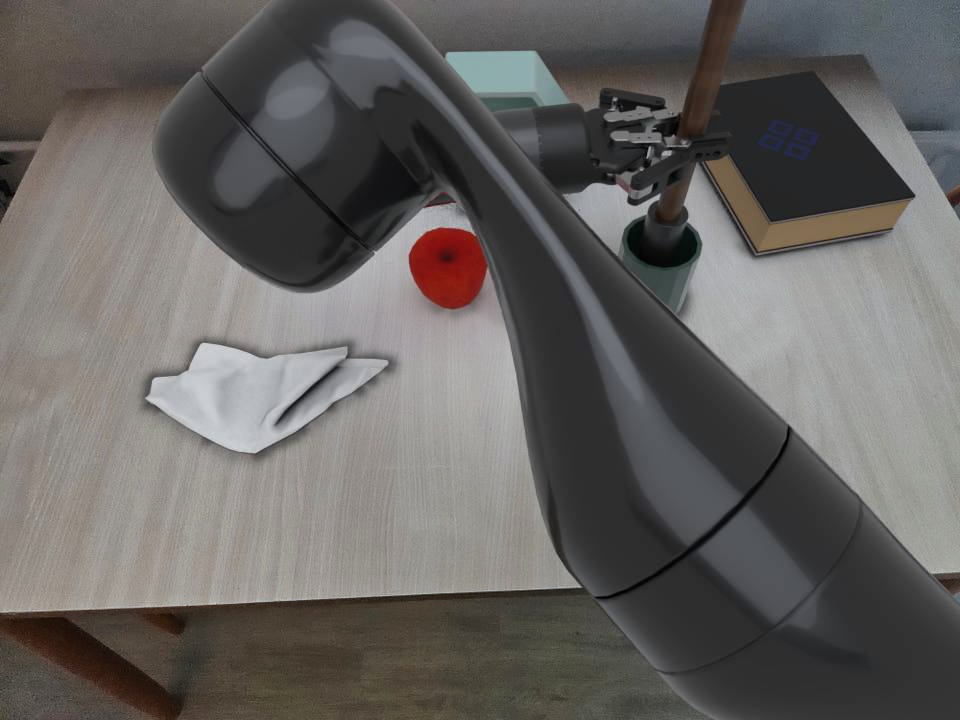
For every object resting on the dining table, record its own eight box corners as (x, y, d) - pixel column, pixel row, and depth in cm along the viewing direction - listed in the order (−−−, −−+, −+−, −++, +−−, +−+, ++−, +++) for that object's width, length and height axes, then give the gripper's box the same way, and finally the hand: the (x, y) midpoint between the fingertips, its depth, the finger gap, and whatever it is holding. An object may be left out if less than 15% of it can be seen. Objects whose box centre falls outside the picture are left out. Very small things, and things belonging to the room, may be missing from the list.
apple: (399, 295, 76) (389, 250, 70) (452, 255, 80) (447, 208, 73) (451, 337, 73) (445, 294, 66) (505, 293, 76) (504, 247, 69)
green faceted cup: (697, 306, 74) (718, 252, 66) (637, 334, 72) (652, 282, 64) (655, 259, 78) (670, 204, 70) (597, 284, 76) (607, 230, 69)
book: (795, 112, 92) (813, 70, 86) (888, 237, 78) (917, 195, 73) (679, 131, 91) (689, 89, 85) (753, 261, 77) (771, 220, 72)
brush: (680, 265, 68) (771, -5, 45) (643, 269, 68) (714, 1, 44) (669, 238, 70) (751, -33, 47) (633, 242, 70) (697, -28, 47)
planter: (488, 236, 87) (384, 130, 74) (490, 196, 92) (392, 89, 78) (600, 183, 79) (507, 51, 65) (597, 141, 83) (508, 9, 69)
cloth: (125, 447, 67) (114, 437, 65) (170, 339, 74) (162, 327, 72) (371, 461, 65) (366, 452, 63) (392, 349, 72) (389, 337, 70)
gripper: (545, 173, 49) (766, 149, 50) (518, 67, 57) (710, 48, 57) (540, 241, 55) (737, 220, 56) (517, 138, 63) (690, 120, 64)
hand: (722, 133), depth 57 cm, fingers closed on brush, 2 cm apart
